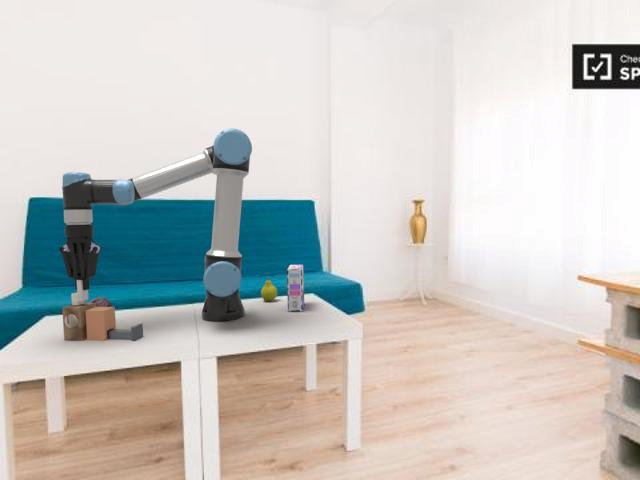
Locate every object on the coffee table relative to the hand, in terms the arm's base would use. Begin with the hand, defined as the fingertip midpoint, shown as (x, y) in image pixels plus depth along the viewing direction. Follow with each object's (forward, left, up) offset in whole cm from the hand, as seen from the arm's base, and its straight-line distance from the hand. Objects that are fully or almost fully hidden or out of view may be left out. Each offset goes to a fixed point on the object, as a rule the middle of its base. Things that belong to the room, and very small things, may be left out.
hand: (83, 300), depth 128 cm
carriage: (-6, 0, -12) cm, 13 cm away
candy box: (-58, -44, -12) cm, 73 cm away
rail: (-9, 0, -12) cm, 15 cm away
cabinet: (+1, 0, -12) cm, 12 cm away
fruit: (-44, -55, -12) cm, 71 cm away
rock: (+7, -15, -12) cm, 21 cm away
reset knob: (+2, 0, -1) cm, 2 cm away
